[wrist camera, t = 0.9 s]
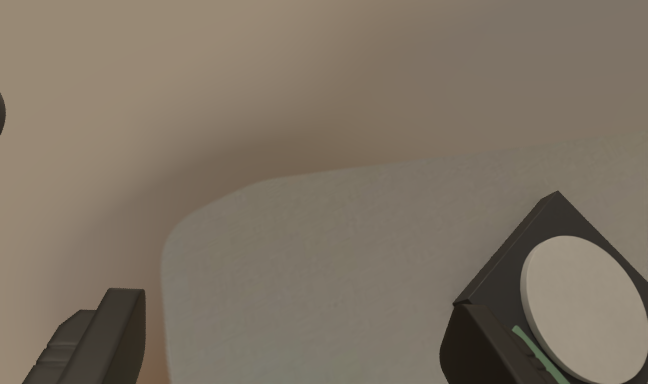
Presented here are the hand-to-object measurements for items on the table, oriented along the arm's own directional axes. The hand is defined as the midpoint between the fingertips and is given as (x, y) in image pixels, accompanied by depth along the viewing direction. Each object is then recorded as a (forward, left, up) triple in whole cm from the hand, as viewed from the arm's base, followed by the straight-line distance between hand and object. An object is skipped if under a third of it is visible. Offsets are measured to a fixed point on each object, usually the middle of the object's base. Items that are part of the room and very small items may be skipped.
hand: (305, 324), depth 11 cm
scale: (+16, +24, -20) cm, 34 cm away
